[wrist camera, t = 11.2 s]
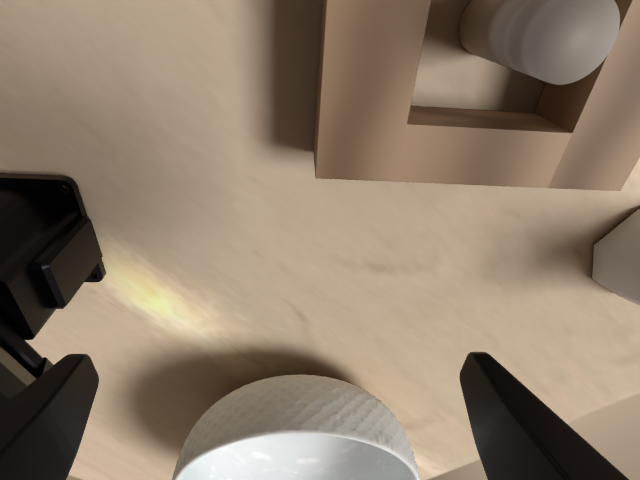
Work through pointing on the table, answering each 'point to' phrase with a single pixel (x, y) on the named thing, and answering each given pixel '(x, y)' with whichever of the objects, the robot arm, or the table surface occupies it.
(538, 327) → the table surface
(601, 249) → the flask
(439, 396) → the table surface
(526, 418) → the robot arm
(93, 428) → the table surface
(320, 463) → the cereal bowl
